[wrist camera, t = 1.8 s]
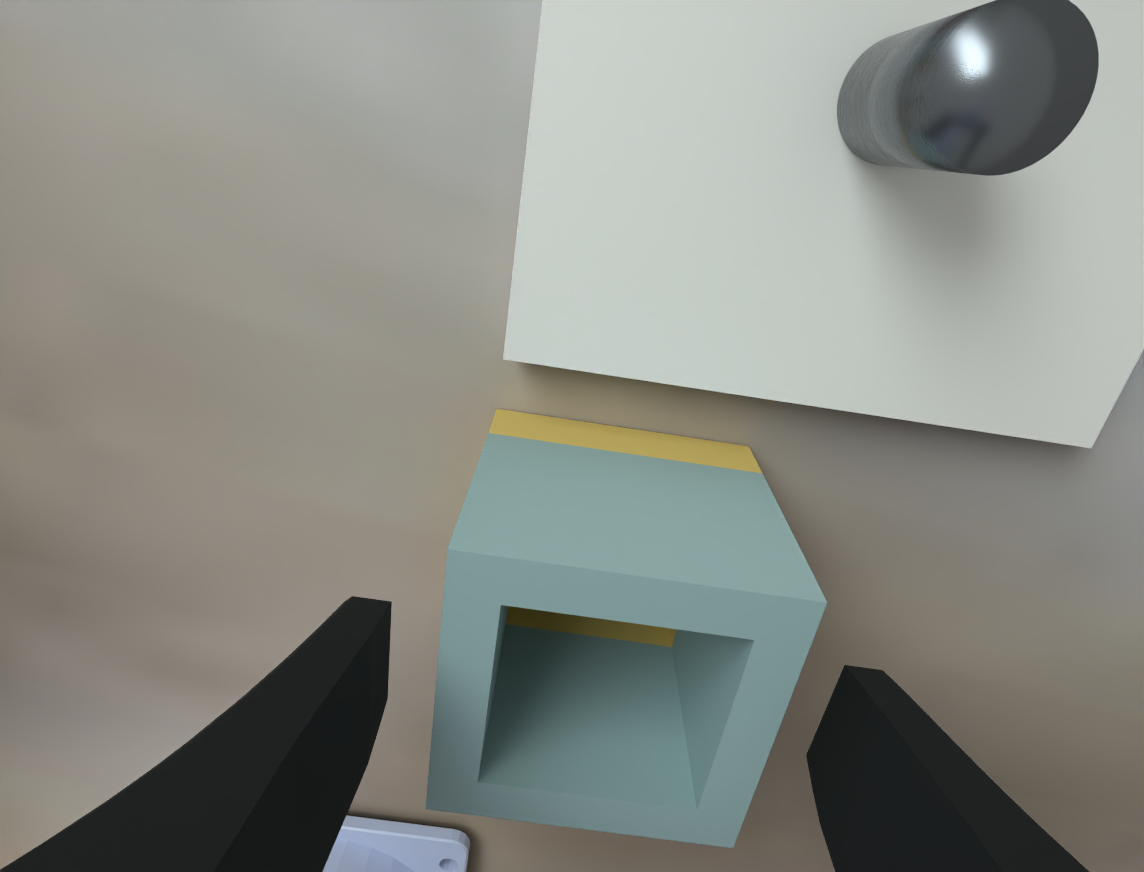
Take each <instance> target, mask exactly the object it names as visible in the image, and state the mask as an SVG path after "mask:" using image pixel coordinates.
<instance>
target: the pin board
mask: <svg viewBox="0 0 1144 872" xmlns="http://www.w3.org/2000/svg"><path fill="white" fill-rule="evenodd" d="M1143 349H1144V0H543V2H542V11H541V20H540V29H539V38H538V47H537V56H536V65H535V74H534V83H533V92H532V102H531V111H530V120H529V129H528V138H527V147H526V156H525V165H524V174H523V183H522V192H521V201H520V210H519V219H518V228H517V237H516V247H515V256H514V265H513V274H512V283H511V292H510V301H509V310H508V319H507V328H506V337H505V346H504V355H503V359H505V360H511V361H518V362H525V363H531V364H538V365H544V366H551V367H558V368H564V369H571V370H577V371H584V372H591V373H597V374H604V375H610V376H617V377H624V378H630V379H637V380H643V381H650V382H657V383H663V384H670V385H676V386H683V387H690V388H696V389H703V390H709V391H716V392H723V393H729V394H736V395H742V396H749V397H756V398H762V399H769V400H775V401H782V402H789V403H795V404H802V405H808V406H815V407H822V408H828V409H835V410H841V411H848V412H855V413H861V414H868V415H875V416H881V417H888V418H894V419H901V420H908V421H914V422H921V423H927V424H934V425H941V426H947V427H954V428H960V429H967V430H974V431H980V432H987V433H993V434H1000V435H1007V436H1013V437H1020V438H1026V439H1033V440H1040V441H1046V442H1053V443H1059V444H1066V445H1073V446H1079V447H1086V448H1092V446H1093V444H1094V442H1095V440H1096V439H1097V437H1098V435H1099V433H1100V431H1101V429H1102V427H1103V425H1104V423H1105V422H1106V420H1107V418H1108V416H1109V414H1110V412H1111V410H1112V408H1113V406H1114V404H1115V403H1116V401H1117V399H1118V397H1119V395H1120V393H1121V391H1122V389H1123V387H1124V385H1125V384H1126V382H1127V380H1128V378H1129V376H1130V374H1131V372H1132V370H1133V368H1134V367H1135V365H1136V363H1137V361H1138V359H1139V357H1140V355H1141V353H1142V351H1143Z"/></svg>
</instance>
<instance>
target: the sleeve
mask: <svg viewBox="0 0 1144 872" xmlns="http://www.w3.org/2000/svg"><path fill="white" fill-rule="evenodd" d="M826 605H827V601H826V599H825V597H824V595H823V593H822V591H821V589H820V587H819V585H818V583H817V581H816V579H815V577H814V575H813V573H812V571H811V569H810V567H809V565H808V563H807V561H806V559H805V557H804V555H803V553H802V551H801V549H800V547H799V545H798V543H797V541H796V539H795V537H794V535H793V533H792V531H791V529H790V527H789V525H788V523H787V521H786V519H785V517H784V515H783V513H782V511H781V509H780V507H779V505H778V503H777V501H776V499H775V497H774V495H773V493H772V491H771V489H770V487H769V485H768V483H767V481H766V479H765V477H764V475H763V473H762V471H761V469H760V467H759V465H758V463H757V461H756V460H755V458H754V456H753V454H752V452H751V450H750V448H749V446H744V445H737V444H730V443H723V442H717V441H710V440H703V439H697V438H690V437H683V436H676V435H670V434H663V433H656V432H650V431H643V430H636V429H629V428H623V427H616V426H609V425H603V424H596V423H589V422H582V421H576V420H569V419H562V418H555V417H549V416H542V415H535V414H529V413H522V412H515V411H508V410H502V409H497V410H496V413H495V416H494V419H493V422H492V425H491V427H490V430H489V433H488V436H487V439H486V442H485V444H484V447H483V450H482V453H481V456H480V459H479V461H478V464H477V467H476V470H475V473H474V476H473V478H472V481H471V484H470V487H469V490H468V493H467V495H466V498H465V501H464V504H463V507H462V510H461V512H460V515H459V518H458V521H457V524H456V527H455V529H454V532H453V535H452V538H451V541H450V544H449V546H448V550H447V561H446V573H445V585H444V597H443V609H442V621H441V632H440V644H439V656H438V668H437V680H436V692H435V704H434V715H433V727H432V739H431V751H430V763H429V775H428V786H427V798H426V809H429V810H437V811H445V812H453V813H461V814H469V815H476V816H484V817H492V818H500V819H508V820H516V821H523V822H531V823H539V824H547V825H555V826H563V827H571V828H578V829H586V830H594V831H602V832H610V833H618V834H626V835H633V836H641V837H649V838H657V839H665V840H673V841H680V842H688V843H696V844H704V845H712V846H720V847H728V848H733V847H734V844H735V842H736V839H737V836H738V834H739V831H740V829H741V826H742V823H743V821H744V818H745V816H746V813H747V810H748V808H749V805H750V803H751V800H752V797H753V795H754V792H755V790H756V787H757V784H758V782H759V779H760V777H761V774H762V771H763V769H764V766H765V764H766V761H767V758H768V756H769V753H770V751H771V748H772V745H773V743H774V740H775V738H776V735H777V732H778V730H779V727H780V725H781V722H782V719H783V717H784V714H785V712H786V709H787V706H788V704H789V701H790V699H791V696H792V693H793V691H794V688H795V686H796V683H797V680H798V678H799V675H800V673H801V670H802V667H803V665H804V662H805V660H806V657H807V654H808V652H809V649H810V647H811V644H812V641H813V639H814V636H815V634H816V631H817V628H818V626H819V623H820V621H821V618H822V615H823V613H824V610H825V608H826Z"/></svg>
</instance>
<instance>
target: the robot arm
mask: <svg viewBox="0 0 1144 872" xmlns="http://www.w3.org/2000/svg"><path fill="white" fill-rule="evenodd" d="M390 626H391V602H389V601H382V600H375V599H368V598H361V597H354V596H352V597H351V598H349V599H348V600H346V601H345V602H344V603H343V604H342V605H341V606H340V607H339V608H338V609H337V610H336V611H335V612H334V613H333V614H332V615H331V616H330V617H329V618H328V619H327V620H326V621H325V622H324V623H323V624H322V625H321V626H320V627H319V628H318V629H317V630H316V631H315V632H313V633H312V634H311V635H310V636H309V637H308V638H307V639H306V640H305V641H304V642H303V643H302V644H301V645H300V646H299V647H298V648H297V649H296V650H295V651H293V652H292V653H291V654H290V655H289V656H288V657H287V658H286V659H285V660H284V661H283V662H281V663H280V664H279V665H278V666H277V667H276V668H275V669H274V670H273V671H271V672H270V673H269V674H268V675H267V676H266V677H265V678H264V679H262V680H261V681H260V682H259V683H258V684H257V685H256V686H255V687H253V688H252V689H251V690H250V691H249V692H248V693H247V694H246V695H244V696H243V697H242V698H241V699H240V700H238V701H237V702H236V703H235V704H234V705H232V706H231V707H230V708H229V709H228V710H226V711H225V712H224V713H223V714H221V715H220V716H219V717H218V718H216V719H215V720H214V721H213V722H212V723H210V724H209V725H208V726H207V727H205V728H204V729H203V730H202V731H200V732H199V733H198V734H197V735H196V736H194V737H193V738H192V739H191V740H189V741H188V742H187V743H186V744H184V745H183V746H182V747H180V748H179V749H178V750H176V751H175V752H174V753H172V754H171V755H170V756H169V757H167V758H166V759H165V760H163V761H162V762H161V763H159V764H158V765H157V766H155V767H154V768H152V769H151V770H150V771H148V772H147V773H146V774H144V775H143V776H141V777H140V778H139V779H137V780H136V781H134V782H133V783H132V784H130V785H129V786H127V787H126V788H125V789H123V790H122V791H120V792H119V793H117V794H116V795H115V796H113V797H112V798H110V799H109V800H107V801H106V802H105V803H103V804H102V805H100V806H99V807H97V808H96V809H94V810H93V811H91V812H90V813H88V814H86V815H85V816H83V817H82V818H80V819H79V820H77V821H76V822H74V823H73V824H71V825H70V826H68V827H67V828H65V829H64V830H62V831H61V832H59V833H58V834H56V835H55V836H53V837H52V838H50V839H48V840H47V841H45V842H44V843H42V844H41V845H39V846H38V847H36V848H34V849H33V850H31V851H30V852H28V853H26V854H25V855H23V856H22V857H20V858H18V859H17V860H15V861H14V862H12V863H10V864H9V865H7V866H5V867H4V868H2V869H1V870H0V872H466V870H467V863H468V855H469V847H470V840H469V838H468V836H467V835H466V834H465V833H463V832H462V831H460V830H456V829H451V828H443V827H435V826H428V825H420V824H412V823H404V822H396V821H388V820H380V819H372V818H364V817H356V816H349V815H347V813H348V810H349V808H350V805H351V803H352V801H353V798H354V796H355V794H356V791H357V789H358V786H359V784H360V782H361V779H362V777H363V774H364V772H365V769H366V767H367V765H368V762H369V758H370V755H371V752H372V749H373V746H374V742H375V739H376V736H377V733H378V729H379V726H380V722H381V719H382V716H383V712H384V709H385V705H386V702H387V697H388V673H389V650H390ZM806 756H807V761H808V767H809V772H810V777H811V783H812V788H813V793H814V798H815V802H816V807H817V812H818V816H819V821H820V825H821V828H822V831H823V834H824V838H825V841H826V844H827V847H828V850H829V853H830V856H831V859H832V862H833V866H834V869H835V872H1089V871H1088V870H1087V869H1086V868H1085V867H1083V866H1082V865H1081V864H1080V863H1079V862H1078V861H1077V860H1076V859H1075V858H1074V857H1073V856H1072V855H1070V854H1069V853H1068V852H1067V851H1066V850H1065V849H1064V848H1063V847H1062V846H1061V845H1060V844H1058V843H1057V842H1056V841H1055V840H1054V839H1053V838H1052V837H1051V836H1050V835H1049V834H1048V833H1047V832H1045V831H1044V830H1043V829H1042V828H1041V827H1040V826H1039V825H1038V824H1037V823H1036V822H1035V821H1034V820H1033V819H1032V818H1031V817H1030V816H1028V815H1027V814H1026V813H1025V812H1024V811H1023V810H1022V809H1021V808H1020V807H1019V806H1018V805H1017V804H1016V803H1015V802H1014V801H1013V800H1012V799H1011V798H1010V797H1009V796H1008V795H1007V794H1006V793H1005V792H1004V791H1003V790H1002V789H1001V788H1000V787H999V786H998V785H997V784H996V783H995V782H994V781H993V780H992V779H991V778H990V777H988V776H987V775H986V774H985V773H984V772H983V771H982V770H981V769H980V768H979V767H978V766H977V765H976V764H975V763H974V761H973V760H972V759H971V758H970V757H969V756H968V755H967V754H966V753H965V752H964V751H963V750H962V749H961V748H960V747H959V746H958V745H957V744H956V743H955V742H954V741H953V740H952V739H951V738H950V737H949V736H948V735H947V734H946V733H945V732H944V731H943V730H942V729H941V728H940V727H939V726H938V725H937V724H936V723H935V722H934V721H933V720H932V719H931V718H930V717H929V716H928V715H927V714H926V713H925V712H924V711H923V710H922V709H921V708H920V707H919V706H918V705H917V704H916V703H915V702H914V700H913V699H912V698H911V697H910V696H909V695H908V694H907V693H906V692H905V691H904V690H902V689H901V688H900V687H899V686H898V685H897V684H896V683H895V682H894V681H893V680H892V679H891V678H890V677H889V676H888V675H887V674H886V673H885V672H884V671H882V670H876V669H869V668H862V667H855V666H848V665H845V666H844V668H843V670H842V673H841V675H840V677H839V680H838V682H837V684H836V687H835V689H834V692H833V694H832V696H831V699H830V701H829V703H828V706H827V708H826V710H825V713H824V715H823V717H822V720H821V722H820V725H819V727H818V729H817V732H816V734H815V736H814V739H813V741H812V743H811V746H810V748H809V751H808V753H807V755H806Z"/></svg>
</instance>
